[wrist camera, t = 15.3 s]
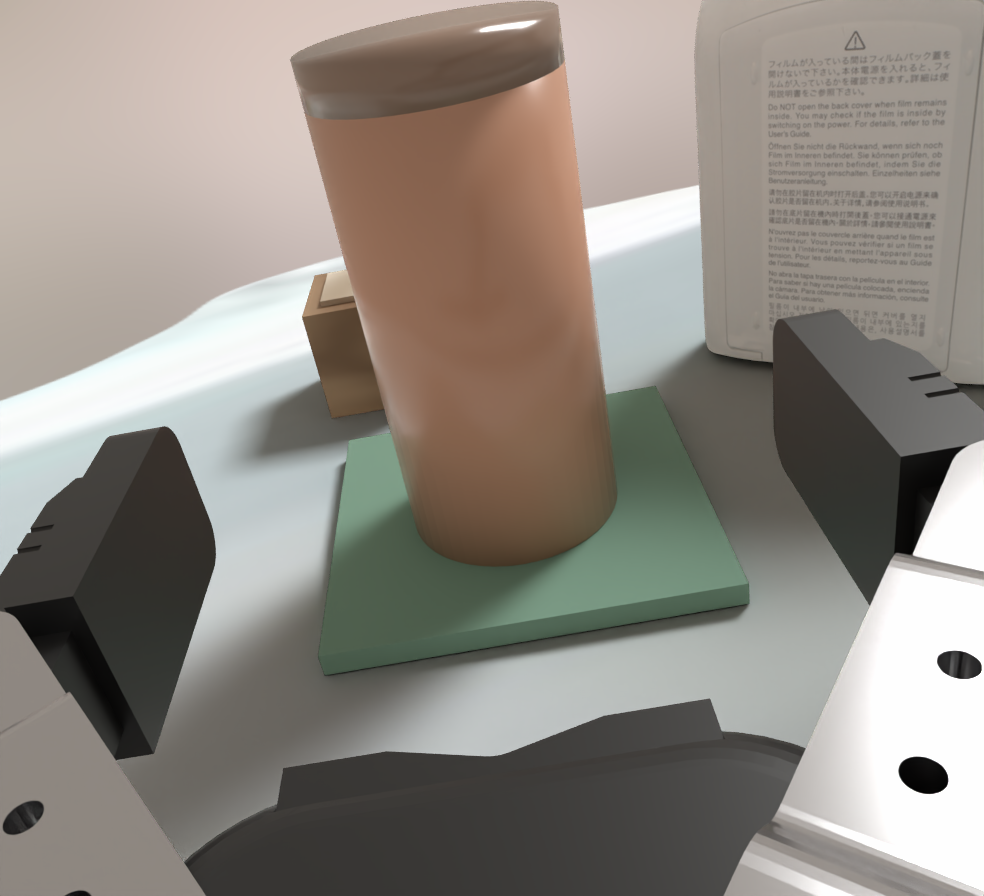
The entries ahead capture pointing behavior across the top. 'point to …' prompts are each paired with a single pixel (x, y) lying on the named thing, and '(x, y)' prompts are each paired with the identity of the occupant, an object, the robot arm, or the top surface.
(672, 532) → the green mat
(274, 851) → the robot arm
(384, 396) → the canister
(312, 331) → the letter block
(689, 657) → the top surface
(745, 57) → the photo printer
